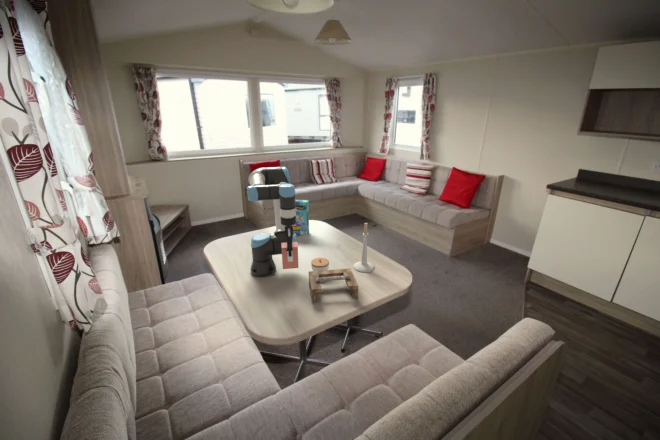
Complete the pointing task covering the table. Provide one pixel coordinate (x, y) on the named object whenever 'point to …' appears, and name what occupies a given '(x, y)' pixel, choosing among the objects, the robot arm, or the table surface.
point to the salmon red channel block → (285, 260)
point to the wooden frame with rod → (329, 275)
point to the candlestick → (364, 255)
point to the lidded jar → (320, 264)
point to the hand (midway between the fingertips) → (290, 258)
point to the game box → (301, 217)
